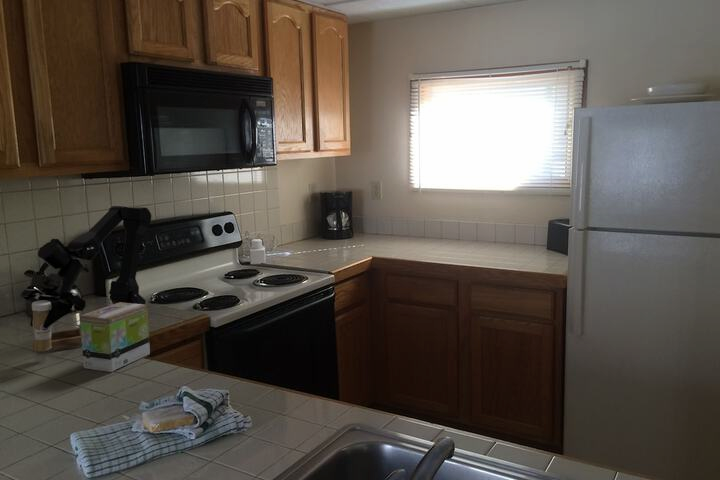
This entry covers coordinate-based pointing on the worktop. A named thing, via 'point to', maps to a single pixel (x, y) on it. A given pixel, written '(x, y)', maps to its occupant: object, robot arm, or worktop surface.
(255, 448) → the worktop surface
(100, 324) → the tea box
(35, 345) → the sprinkles bottle
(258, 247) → the medicine bottle
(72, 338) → the square wooden tray
